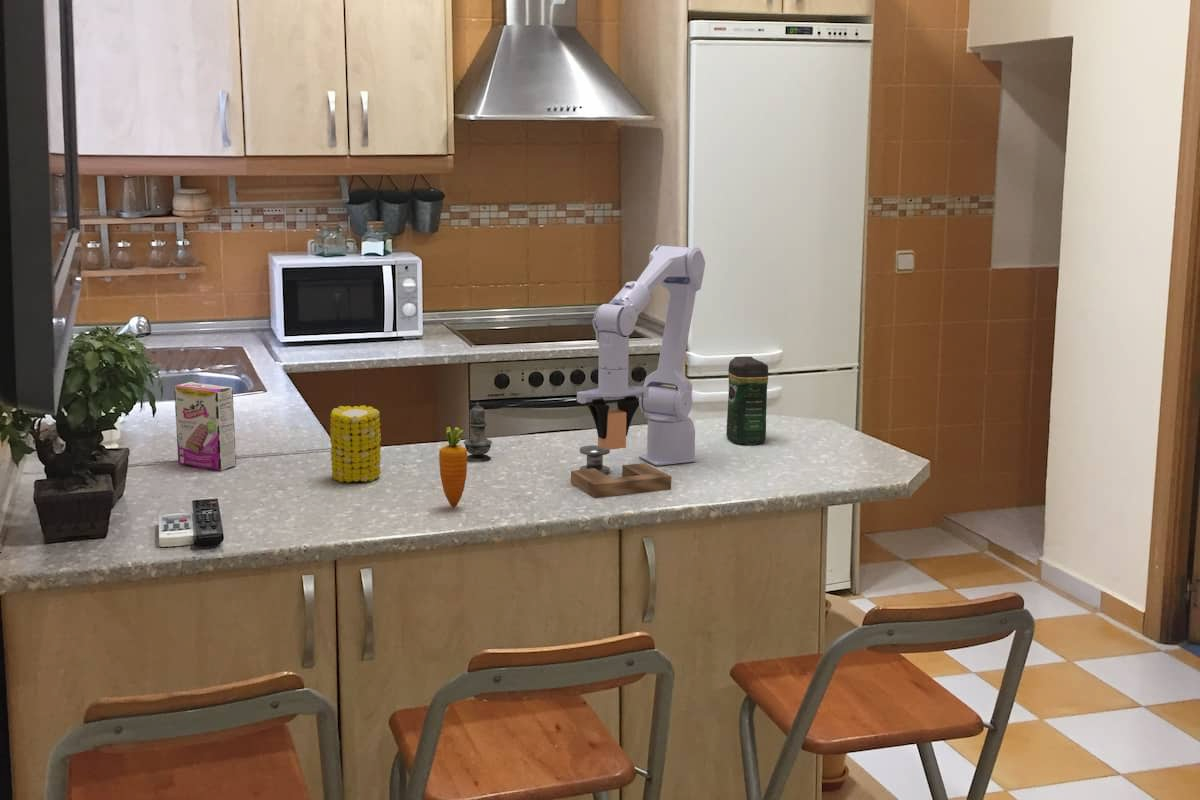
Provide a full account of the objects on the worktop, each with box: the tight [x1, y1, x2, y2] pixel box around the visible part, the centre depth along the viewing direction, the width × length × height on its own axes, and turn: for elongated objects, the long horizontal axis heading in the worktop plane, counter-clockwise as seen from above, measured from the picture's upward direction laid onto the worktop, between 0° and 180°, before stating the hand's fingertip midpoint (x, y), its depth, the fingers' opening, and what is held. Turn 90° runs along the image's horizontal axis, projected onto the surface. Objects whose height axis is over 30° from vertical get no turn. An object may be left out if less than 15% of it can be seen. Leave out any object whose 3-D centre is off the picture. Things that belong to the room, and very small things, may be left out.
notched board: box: [570, 462, 672, 499], centre depth 251 cm, size 16×11×2 cm
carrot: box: [438, 426, 468, 509], centre depth 234 cm, size 5×5×15 cm
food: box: [329, 405, 382, 483], centre depth 253 cm, size 15×12×10 cm
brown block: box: [597, 407, 627, 451], centre depth 253 cm, size 4×4×7 cm
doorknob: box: [579, 444, 611, 475], centre depth 262 cm, size 6×6×5 cm
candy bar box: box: [173, 381, 237, 472], centre depth 261 cm, size 11×5×16 cm, turn 65°
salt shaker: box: [463, 401, 493, 463], centre depth 270 cm, size 6×6×12 cm
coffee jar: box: [725, 356, 769, 446], centre depth 288 cm, size 10×8×19 cm
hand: (612, 436), depth 253 cm, fingers closed on brown block, 4 cm apart
